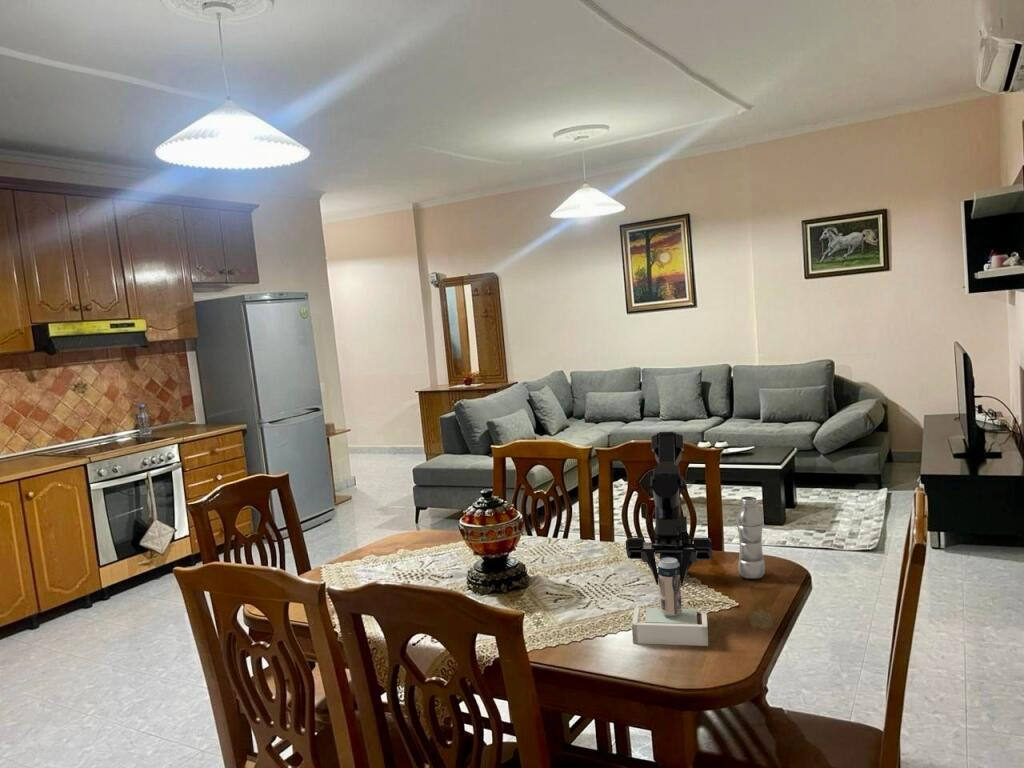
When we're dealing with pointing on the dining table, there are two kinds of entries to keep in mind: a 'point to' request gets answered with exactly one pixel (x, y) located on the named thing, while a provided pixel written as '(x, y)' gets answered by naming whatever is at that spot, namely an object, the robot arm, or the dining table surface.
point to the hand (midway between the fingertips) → (669, 584)
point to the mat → (671, 617)
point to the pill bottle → (669, 586)
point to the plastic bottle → (750, 539)
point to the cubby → (669, 632)
